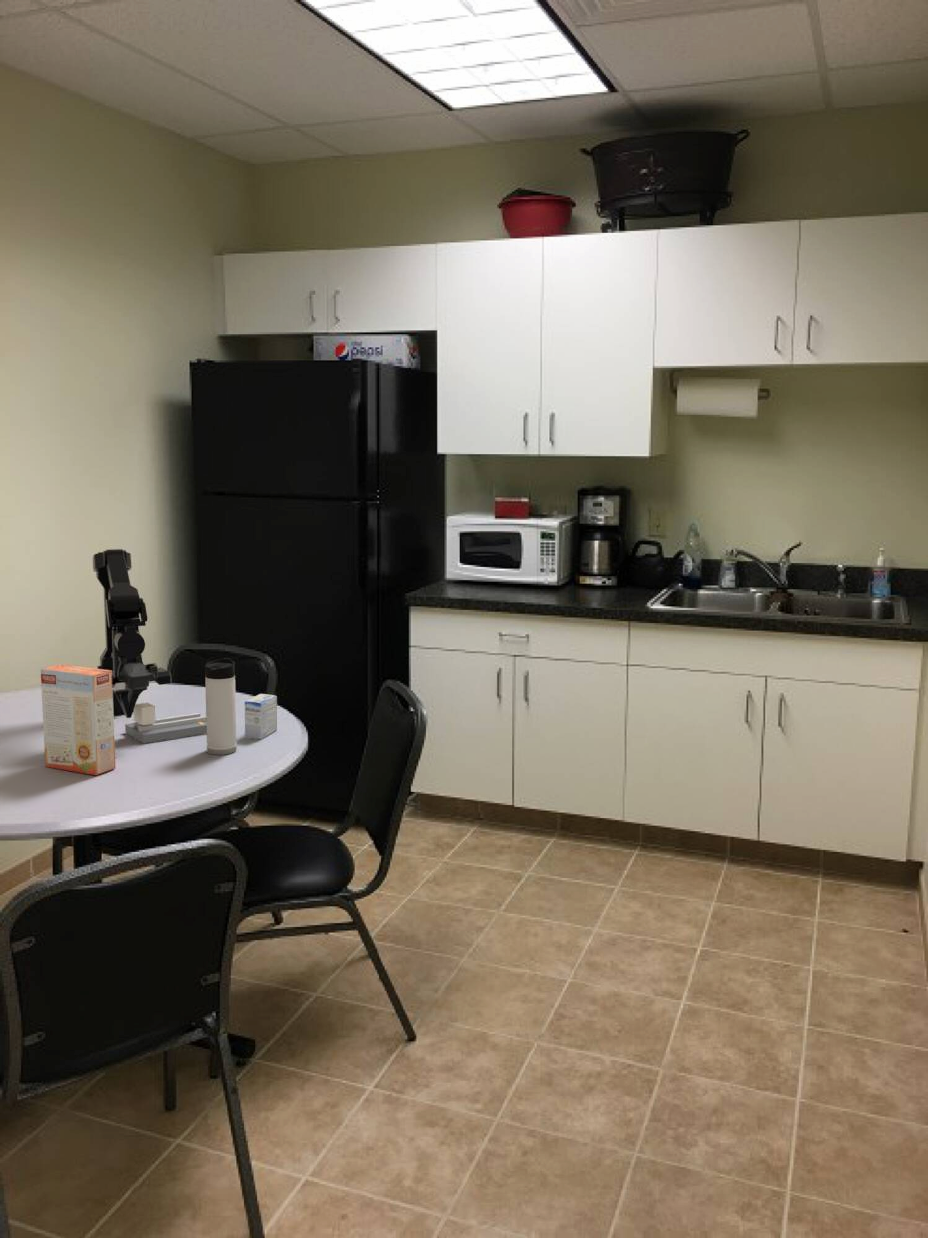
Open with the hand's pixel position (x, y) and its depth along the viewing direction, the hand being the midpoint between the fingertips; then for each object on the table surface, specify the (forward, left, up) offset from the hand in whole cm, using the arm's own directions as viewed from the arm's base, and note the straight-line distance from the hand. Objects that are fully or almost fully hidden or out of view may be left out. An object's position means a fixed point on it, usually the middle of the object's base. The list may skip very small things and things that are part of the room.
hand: (128, 717), depth 240 cm
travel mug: (+20, +13, -5) cm, 25 cm away
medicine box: (+13, +26, -5) cm, 30 cm away
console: (0, +10, -5) cm, 11 cm away
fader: (0, +4, -3) cm, 5 cm away
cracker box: (+15, -16, -5) cm, 23 cm away
